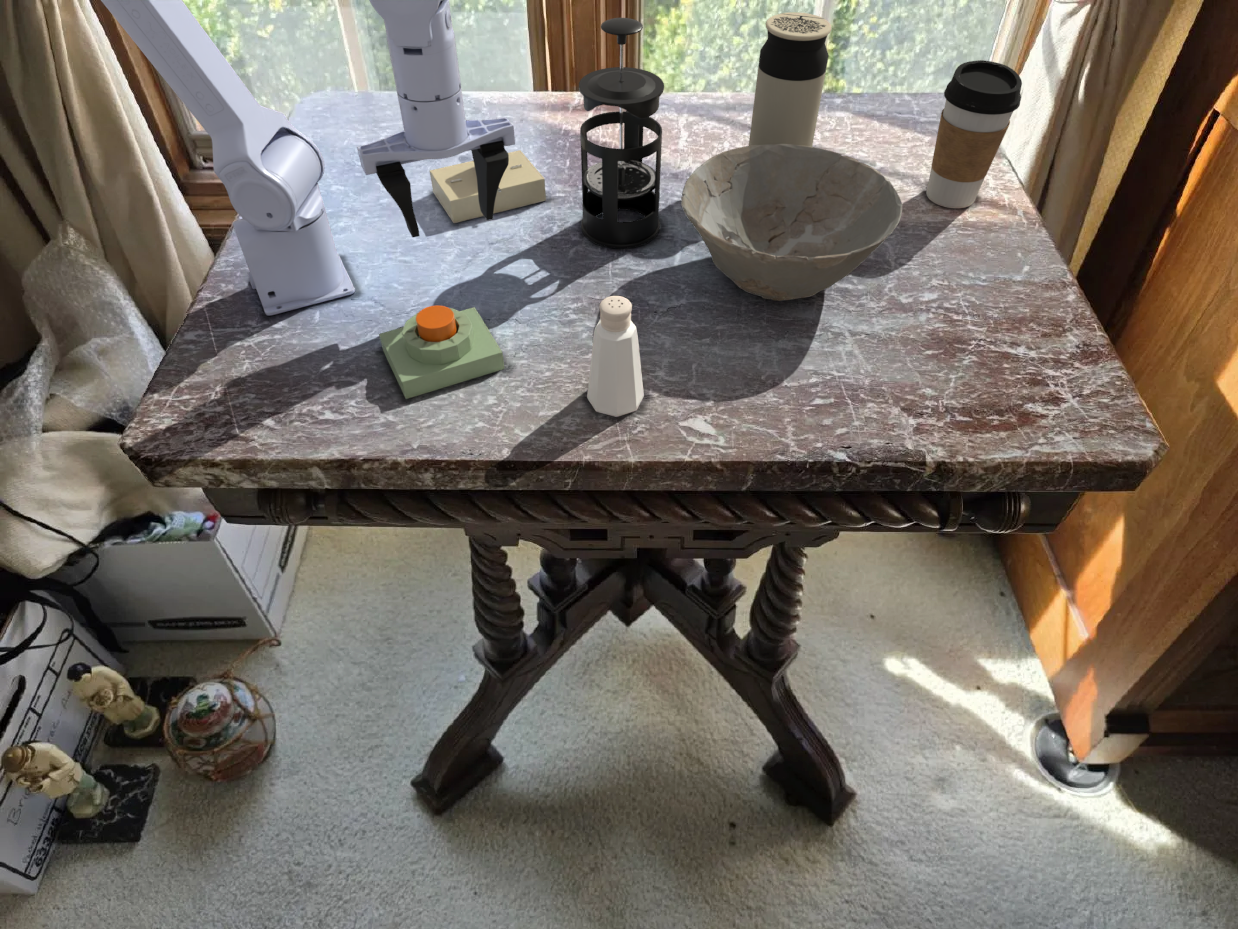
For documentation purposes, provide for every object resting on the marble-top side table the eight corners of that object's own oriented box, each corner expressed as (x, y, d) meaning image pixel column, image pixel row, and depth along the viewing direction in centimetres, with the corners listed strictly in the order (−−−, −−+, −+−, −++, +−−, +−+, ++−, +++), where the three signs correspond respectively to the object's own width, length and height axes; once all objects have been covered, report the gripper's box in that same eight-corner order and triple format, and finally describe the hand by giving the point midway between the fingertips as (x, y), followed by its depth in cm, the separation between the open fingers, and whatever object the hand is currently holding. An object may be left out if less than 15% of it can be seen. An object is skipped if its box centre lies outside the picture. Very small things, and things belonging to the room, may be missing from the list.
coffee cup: (978, 180, 109) (1019, 60, 98) (991, 216, 103) (1036, 92, 92) (911, 177, 109) (945, 57, 98) (920, 212, 104) (957, 89, 93)
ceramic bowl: (889, 238, 100) (911, 158, 92) (866, 360, 85) (890, 276, 77) (705, 207, 104) (712, 128, 97) (653, 317, 89) (657, 234, 82)
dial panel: (455, 226, 101) (451, 202, 99) (431, 190, 107) (427, 166, 104) (548, 203, 105) (546, 179, 102) (520, 169, 110) (518, 146, 108)
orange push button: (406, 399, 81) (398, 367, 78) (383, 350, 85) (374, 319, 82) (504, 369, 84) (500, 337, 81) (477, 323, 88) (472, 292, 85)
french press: (647, 257, 97) (654, 48, 80) (568, 244, 98) (559, 37, 82) (671, 205, 104) (682, 4, 87) (598, 194, 106) (595, -5, 89)
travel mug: (796, 191, 107) (822, 42, 94) (737, 176, 109) (754, 29, 96) (815, 163, 112) (842, 17, 98) (757, 150, 114) (776, 6, 101)
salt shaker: (642, 378, 83) (645, 284, 75) (645, 417, 79) (649, 322, 71) (586, 379, 83) (583, 285, 74) (587, 418, 79) (584, 324, 71)
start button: (425, 347, 80) (422, 332, 79) (414, 325, 82) (411, 311, 81) (461, 336, 81) (459, 322, 80) (449, 315, 83) (447, 301, 82)
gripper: (491, 57, 80) (505, 189, 90) (337, 84, 76) (370, 219, 86) (517, 87, 76) (528, 222, 86) (355, 117, 72) (387, 255, 82)
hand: (450, 223), depth 86 cm, fingers open, 7 cm apart
